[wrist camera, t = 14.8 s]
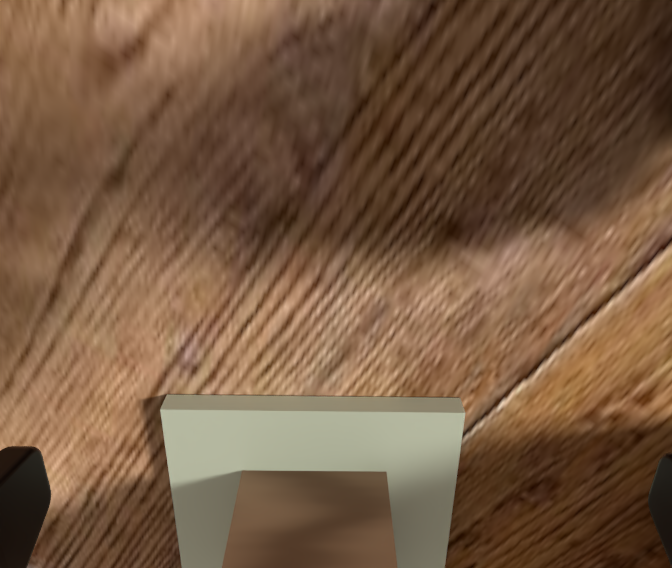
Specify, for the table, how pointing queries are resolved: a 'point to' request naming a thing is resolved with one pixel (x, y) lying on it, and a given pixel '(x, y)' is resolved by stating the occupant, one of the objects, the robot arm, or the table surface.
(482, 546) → the table surface
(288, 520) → the walnut block
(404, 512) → the baseplate
